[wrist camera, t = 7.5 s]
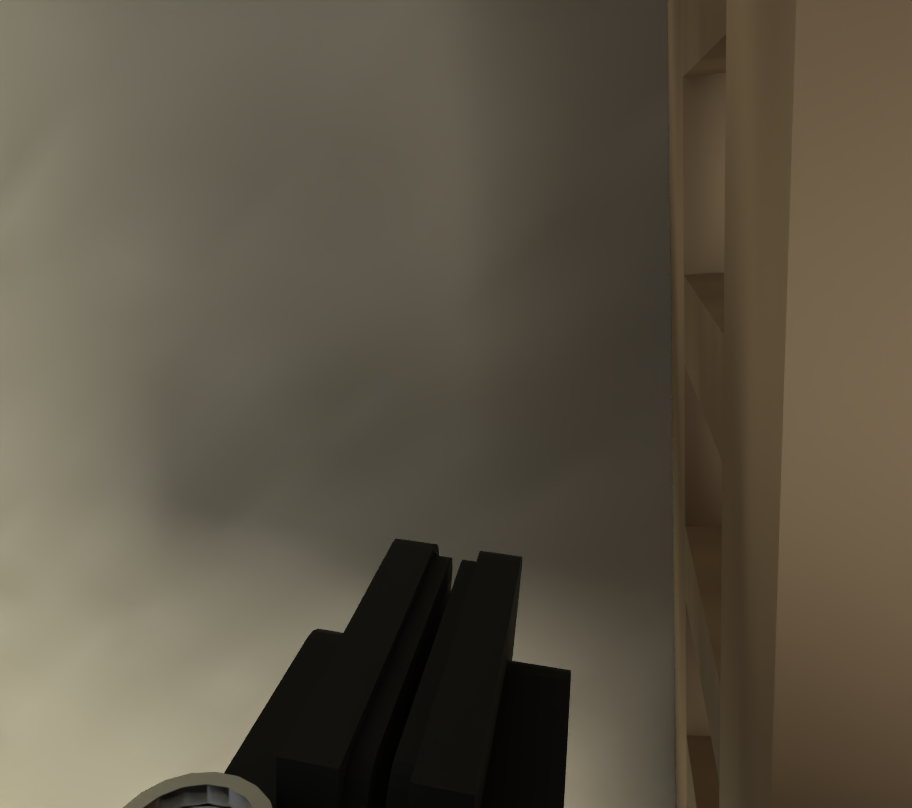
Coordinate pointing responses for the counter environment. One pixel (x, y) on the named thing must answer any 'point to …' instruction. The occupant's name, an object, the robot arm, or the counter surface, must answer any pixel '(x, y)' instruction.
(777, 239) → the gate
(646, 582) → the counter surface
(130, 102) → the counter surface
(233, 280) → the counter surface
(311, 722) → the robot arm
